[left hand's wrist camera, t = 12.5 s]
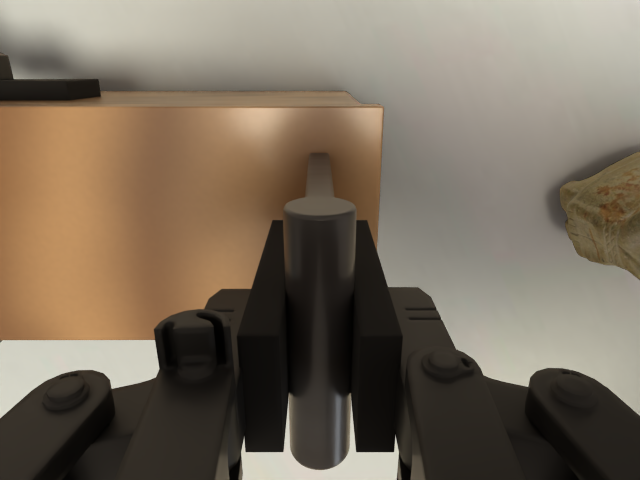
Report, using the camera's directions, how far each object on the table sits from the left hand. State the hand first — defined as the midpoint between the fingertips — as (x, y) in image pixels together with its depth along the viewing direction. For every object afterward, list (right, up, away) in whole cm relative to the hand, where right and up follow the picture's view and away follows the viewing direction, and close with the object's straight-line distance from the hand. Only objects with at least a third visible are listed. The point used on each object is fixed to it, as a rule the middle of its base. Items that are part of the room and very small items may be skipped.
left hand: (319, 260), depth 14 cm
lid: (-6, +1, +3) cm, 7 cm away
